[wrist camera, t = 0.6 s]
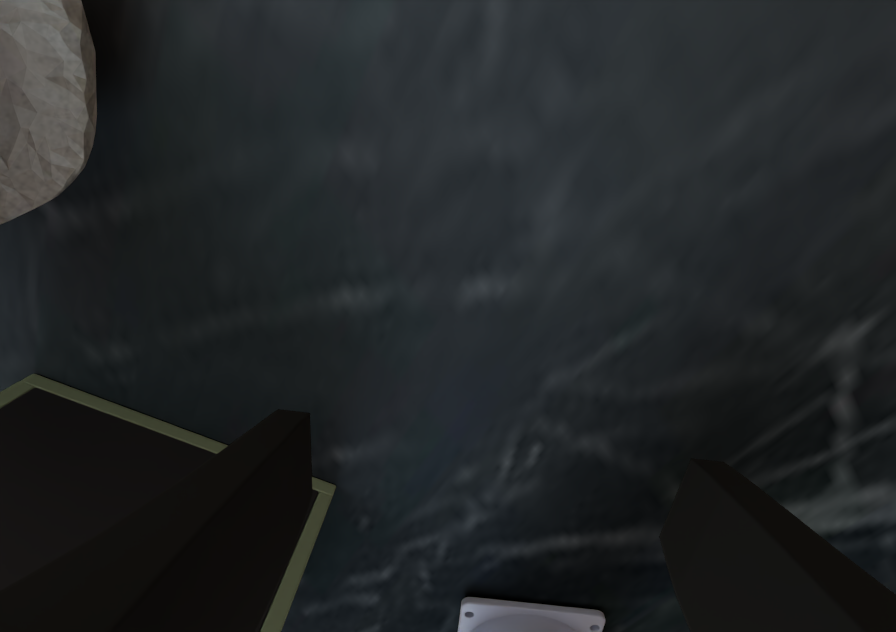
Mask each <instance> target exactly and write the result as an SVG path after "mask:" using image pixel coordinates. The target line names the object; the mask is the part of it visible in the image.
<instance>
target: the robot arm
mask: <svg viewBox="0 0 896 632" xmlns="http://www.w3.org/2000/svg"><path fill="white" fill-rule="evenodd" d="M312 494H313V492H312V463H311V434H310V413H305V412H296V411H288V410H280V409H278V410H277V411H275V412H274V413H272V414H271V415H269V416H268V417H267V418H265V419H264V420H262V421H261V422H260V423H258V424H257V425H256V426H254V427H253V428H252V429H250V430H249V431H247V432H246V433H245V434H243V435H242V436H241V437H239V438H238V439H237V440H235V441H234V442H233V443H231V444H230V445H228V446H227V447H226V448H224V449H223V450H222V451H220V452H219V453H217V454H216V455H215V456H213V457H212V458H211V459H209V460H208V461H206V462H205V463H204V464H202V465H201V466H199V467H198V468H196V469H195V470H194V471H192V472H191V473H189V474H188V475H187V476H185V477H184V478H182V479H181V480H180V481H178V482H177V483H175V484H174V485H172V486H171V487H169V488H168V489H166V490H165V491H163V492H162V493H160V494H159V495H157V496H156V497H154V498H152V499H151V500H149V501H148V502H146V503H145V504H143V505H142V506H140V507H139V508H137V509H136V510H134V511H133V512H131V513H130V514H128V515H127V516H125V517H124V518H122V519H120V520H119V521H117V522H116V523H114V524H113V525H111V526H110V527H108V528H107V529H105V530H103V531H102V532H100V533H99V534H97V535H95V536H94V537H92V538H90V539H89V540H87V541H85V542H84V543H82V544H80V545H79V546H77V547H75V548H74V549H72V550H70V551H69V552H67V553H65V554H64V555H62V556H60V557H58V558H57V559H55V560H53V561H51V562H50V563H48V564H46V565H44V566H43V567H41V568H39V569H37V570H36V571H34V572H32V573H30V574H29V575H27V576H25V577H23V578H22V579H20V580H18V581H16V582H15V583H13V584H11V585H9V586H7V587H6V588H4V589H2V590H0V632H255V630H256V628H257V626H258V624H259V622H260V620H261V618H262V616H263V614H264V611H265V609H266V607H267V605H268V603H269V601H270V599H271V597H272V595H273V592H274V590H275V588H276V586H277V584H278V582H279V580H280V577H281V575H282V573H283V571H284V569H285V567H286V565H287V562H288V560H289V558H290V556H291V554H292V552H293V549H294V547H295V544H296V541H297V539H298V536H299V533H300V530H301V527H302V525H303V522H304V519H305V516H306V513H307V510H308V507H309V504H310V501H311V497H312ZM659 538H660V541H661V545H662V549H663V553H664V556H665V560H666V564H667V568H668V571H669V574H670V578H671V581H672V584H673V588H674V591H675V594H676V597H677V599H678V602H679V604H680V607H681V609H682V612H683V614H684V617H685V619H686V622H687V624H688V627H689V629H690V632H896V595H895V594H894V593H893V592H891V591H890V590H889V589H888V588H886V587H885V586H884V585H882V584H881V583H880V582H878V581H877V580H876V579H874V578H873V577H872V576H870V575H869V574H868V573H867V572H865V571H864V570H863V569H861V568H860V567H859V566H858V565H856V564H855V563H854V562H852V561H851V560H850V559H848V558H847V557H846V556H845V555H843V554H842V553H841V552H840V551H838V550H837V549H836V548H834V547H833V546H832V545H831V544H829V543H828V542H827V541H826V540H824V539H823V538H822V537H821V536H819V535H818V534H817V533H815V532H814V531H813V530H812V529H810V528H809V527H808V526H807V525H805V524H804V523H803V522H802V521H800V520H799V519H798V518H797V517H795V516H794V515H793V514H792V513H790V512H789V511H788V510H786V509H785V508H784V507H783V506H781V505H780V504H779V503H778V502H776V501H775V500H774V499H773V498H771V497H770V496H769V495H767V494H766V493H765V492H764V491H762V490H761V489H760V488H759V487H757V486H756V485H755V484H753V483H752V482H751V481H749V480H748V479H747V478H745V477H744V476H743V475H741V474H740V473H739V472H737V471H736V470H735V469H733V468H732V467H730V466H729V465H727V464H726V463H724V462H718V461H709V460H701V459H693V458H691V460H690V462H689V465H688V467H687V470H686V472H685V475H684V477H683V479H682V482H681V484H680V487H679V489H678V492H677V494H676V497H675V499H674V501H673V504H672V506H671V509H670V511H669V514H668V516H667V519H666V521H665V523H664V526H663V528H662V531H661V533H660V536H659ZM604 625H605V617H604V614H603V612H601V611H599V610H594V609H584V608H575V607H565V606H556V605H546V604H537V603H527V602H517V601H508V600H498V599H489V598H479V597H465V598H464V599H462V601H461V608H460V616H459V624H458V632H602V631H603V628H604Z"/></svg>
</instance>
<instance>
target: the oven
mask: <svg viewBox="0 0 896 632" xmlns="http://www.w3.org/2000/svg"><path fill="white" fill-rule="evenodd" d="M227 446H228V445H225V444H223V443H220V442H217V441H215V440H212V439H209V438H207V437H204V436H201V435H198V434H196V433H193V432H190V431H188V430H185V429H182V428H180V427H177V426H174V425H172V424H169V423H166V422H163V421H161V420H158V419H155V418H153V417H150V416H147V415H145V414H142V413H139V412H137V411H134V410H131V409H128V408H126V407H123V406H120V405H118V404H115V403H112V402H110V401H107V400H104V399H102V398H99V397H96V396H93V395H91V394H88V393H85V392H83V391H80V390H77V389H75V388H72V387H69V386H67V385H64V384H61V383H58V382H56V381H53V380H50V379H48V378H45V377H42V376H40V375H37V374H31V375H30V376H28V377H26V378H24V379H23V380H21V381H19V382H17V383H15V384H13V385H12V386H10V387H8V388H7V389H5V390H3V391H1V392H0V590H2V589H4V588H6V587H7V586H9V585H11V584H13V583H15V582H16V581H18V580H20V579H22V578H23V577H25V576H27V575H29V574H30V573H32V572H34V571H36V570H37V569H39V568H41V567H43V566H44V565H46V564H48V563H50V562H51V561H53V560H55V559H57V558H58V557H60V556H62V555H64V554H65V553H67V552H69V551H70V550H72V549H74V548H75V547H77V546H79V545H80V544H82V543H84V542H85V541H87V540H89V539H90V538H92V537H94V536H95V535H97V534H99V533H100V532H102V531H103V530H105V529H107V528H108V527H110V526H111V525H113V524H114V523H116V522H117V521H119V520H120V519H122V518H124V517H125V516H127V515H128V514H130V513H131V512H133V511H134V510H136V509H137V508H139V507H140V506H142V505H143V504H145V503H146V502H148V501H149V500H151V499H152V498H154V497H156V496H157V495H159V494H160V493H162V492H163V491H165V490H166V489H168V488H169V487H171V486H172V485H174V484H175V483H177V482H178V481H180V480H181V479H182V478H184V477H185V476H187V475H188V474H189V473H191V472H192V471H194V470H195V469H196V468H198V467H199V466H201V465H202V464H204V463H205V462H206V461H208V460H209V459H211V458H212V457H213V456H215V455H216V454H217V453H219V452H220V451H222V450H223V449H224V448H226V447H227ZM335 489H336V486H335V485H333V484H330V483H328V482H325V481H322V480H320V479H317V478H314V477H312V492H313V494H312V497H311V501H310V504H309V507H308V510H307V513H306V516H305V519H304V522H303V525H302V527H301V530H300V533H299V536H298V539H297V541H296V544H295V547H294V549H293V552H292V554H291V556H290V558H289V560H288V562H287V565H286V567H285V569H284V571H283V573H282V575H281V577H280V580H279V582H278V584H277V586H276V588H275V590H274V592H273V595H272V597H271V599H270V601H269V603H268V605H267V607H266V609H265V611H264V614H263V616H262V618H261V620H260V622H259V624H258V626H257V628H256V630H255V632H281V630H282V628H283V625H284V623H285V620H286V617H287V615H288V612H289V609H290V607H291V604H292V602H293V599H294V596H295V594H296V591H297V589H298V586H299V583H300V581H301V578H302V575H303V573H304V570H305V568H306V565H307V562H308V560H309V557H310V554H311V552H312V549H313V547H314V544H315V541H316V539H317V536H318V534H319V531H320V528H321V526H322V523H323V520H324V518H325V515H326V513H327V510H328V507H329V505H330V502H331V500H332V497H333V494H334V492H335Z"/></svg>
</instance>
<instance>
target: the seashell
mask: <svg viewBox="0 0 896 632" xmlns="http://www.w3.org/2000/svg"><path fill="white" fill-rule="evenodd" d="M96 120H97V98H96V51H95V48H94V44H93V41H92V37H91V34H90V30H89V27H88V23H87V19H86V16H85V12H84V8H83V5H82V1H81V0H0V225H1V224H3V223H5V222H8V221H10V220H12V219H14V218H16V217H18V216H20V215H22V214H25V213H27V212H29V211H31V210H33V209H35V208H37V207H39V206H41V205H42V204H44V203H46V202H48V201H50V200H52V199H54V198H55V197H57V196H59V195H60V194H61V193H62V192H63V191H64V190H65V189H66V188H67V187H68V186H69V185H70V184H71V183H72V182H73V181H74V180H75V179H76V178H77V177H78V175H79V174H80V173H81V171H82V170H83V169H84V168H85V166H86V163H87V160H88V158H89V155H90V152H91V150H92V147H93V142H94V137H95V132H96Z"/></svg>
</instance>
